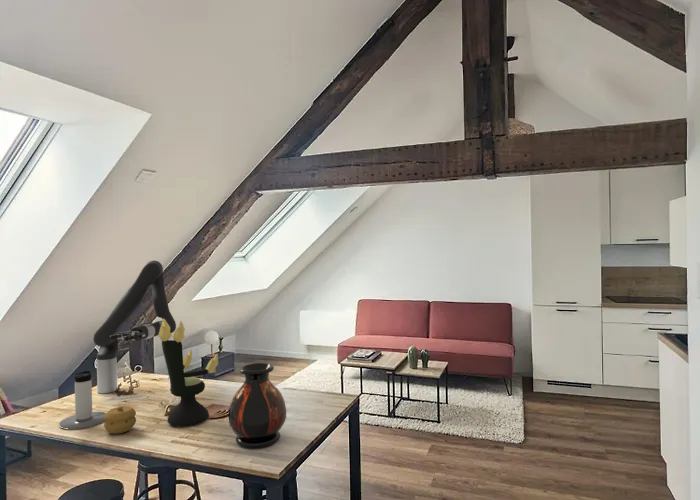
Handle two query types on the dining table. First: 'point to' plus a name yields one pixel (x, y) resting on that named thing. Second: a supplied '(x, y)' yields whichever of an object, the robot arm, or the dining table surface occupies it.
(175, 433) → the dining table surface
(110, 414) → the pot
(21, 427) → the dining table surface
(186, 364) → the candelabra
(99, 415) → the charcoal trivet
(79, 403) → the travel mug
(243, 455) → the dining table surface
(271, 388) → the black and orange vase
